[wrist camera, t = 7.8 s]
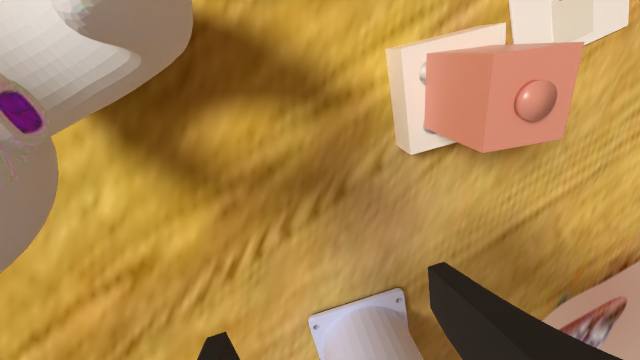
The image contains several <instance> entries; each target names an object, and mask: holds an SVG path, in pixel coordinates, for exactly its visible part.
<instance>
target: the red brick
mask: <svg viewBox="0 0 640 360" xmlns="http://www.w3.org/2000/svg"><path fill="white" fill-rule="evenodd" d="M583 46H584V42H562V43H532V44H503V45H489V46H481V47H473V48H465V49H457V50H450V51H442V52H434V53H427V59H426V89H425V119H424V128H426V129H429V130H431V131H433V132H436V133H438V134H440V135H442V136H445V137H447V138H449V139H451V140H454V141H456V142H458V143H460V144H463V145H465V146H467V147H469V148H472V149H474V150H476V151H479V152H481V153H486V152H492V151H498V150H503V149H509V148H514V147H520V146H526V145H531V144H537V143H542V142H548V141H554V140H559V139H563V135H564V131H565V127H566V122H567V118H568V113H569V109H570V104H571V100H572V95H573V91H574V86H575V82H576V78H577V73H578V69H579V64H580V60H581V55H582V51H583Z"/></svg>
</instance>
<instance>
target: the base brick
mask: <svg viewBox="0 0 640 360" xmlns="http://www.w3.org/2000/svg"><path fill="white" fill-rule="evenodd" d="M505 35H506V23H498V24H490V25H482V26H477V27H473V28H469V29H465V30H461V31H457V32H452V33H448V34H444V35H440V36H436V37H432V38H428V39H424V40H420V41H416V42H412V43H408V44H404V45H400V46H396V47H391V48H387V49H386V57H387V65H388V74H389V83H390V92H391V101H392V110H393V118H394V127H395V136H396V145H397V146H398V147H399V148H401V149H402V150H404V151H405V152H407V153H408V154H410V155H413V154H417V153H420V152H424V151H427V150H431V149H434V148H438V147H442V146H445V145H449V144H452V143H456V141H454V140H451V139H449V138H447V137H445V136H442V135H440V134H438V133H436V132H433V131H431V130H429V129H426V128H424V119H425V89H426V59H427V53H434V52H442V51H450V50H457V49H465V48H473V47H481V46H489V45H503V44H505Z"/></svg>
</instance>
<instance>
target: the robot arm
mask: <svg viewBox="0 0 640 360" xmlns="http://www.w3.org/2000/svg"><path fill="white" fill-rule="evenodd" d="M428 276H429V291H430V306H431V309H432V311H433V313H434V315H435V317H436V318H437V320H438V322H439V324H440V326H441V327H442V329H443V331H444V333H445V334H446V336H447V337H448V339H449V340H450V342H451V343H452V345H453V346H454V347H455V349H456V350H457V352H458V353H459V355H460V356H461V357H462V359H463V360H623V359H620V358H618V357H615V356H613V355H611V354H608V353H606V352H604V351H601V350H599V349H597V348H595V347H593V346H590V345H588V344H586V343H584V342H582V341H580V340H578V339H576V338H574V337H572V336H569V335H567V334H565V333H563V332H561V331H559V330H557V329H555V328H553V327H551V326H550V325H547V324H546V323H544V322H542V321H540V320H538V319H537V318H535V317H533V316H531V315H529V314H527V313H526V312H524V311H522V310H520V309H519V308H517V307H515V306H513V305H512V304H510V303H508V302H507V301H505V300H503V299H502V298H500V297H498V296H497V295H495V294H493V293H492V292H490V291H489V290H487V289H485V288H484V287H482V286H481V285H479V284H478V283H476V282H474V281H473V280H471V279H470V278H468V277H467V276H465V275H464V274H462V273H461V272H459V271H457V270H456V269H454V268H453V267H451V266H450V265H448V264H447V263H445V262H442V263H439V264H436V265H433V266H429V267H428ZM398 298H399V299H398ZM308 323H309V327H310V330H311V333H312V336H313V339H314V342H315V345H316V348H317V351H318V354H319V357H320V360H424V359H423V357H422V355H421V353H420V351H419V350H418V348H417V346H416V344H415V342H414V340H413V339H412V337H411V335H410V333H409V328H408V320H407V312H406V305H405V297H404V292H403V291H402V289H401V288H395V289H392V290H389V291H386V292H383V293H380V294H377V295H374V296H370V297H367V298H364V299H361V300H358V301H355V302H352V303H349V304H346V305H342V306H339V307H336V308H333V309H330V310H327V311H324V312H321V313H318V314H314V315H312V316H310V317H309V319H308ZM315 325H316V326H315ZM197 360H240V359H239V357H238V355H237V353H236V351H235V349H234V347H233V345H232V343H231V341H230V339H229V337H228V335H227V333H226V332H224V333H220V334H217V335H214V336H211V337H208V338H207V339H206V341H205V343H204V345H203V347H202V350H201V352H200V354H199V356H198V359H197Z"/></svg>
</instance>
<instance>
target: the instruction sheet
mask: <svg viewBox="0 0 640 360" xmlns="http://www.w3.org/2000/svg"><path fill="white" fill-rule="evenodd" d="M509 10H510V19H511V29H512V39H513V44H532V43H562V42H584V45H587V44H589V43H591V42H593V41H595V40H597V39H600V38H602V37H604V36H606V35H608V34H610V33H613V32H615V31H617V30H619V29H621V28H623V27H626V26H628V14H629V0H509Z"/></svg>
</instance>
